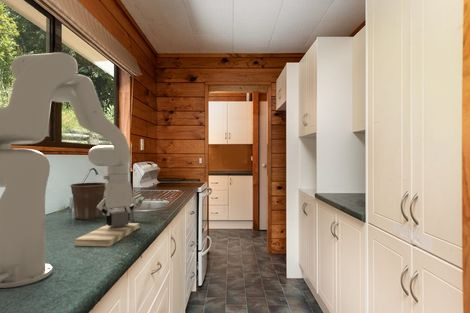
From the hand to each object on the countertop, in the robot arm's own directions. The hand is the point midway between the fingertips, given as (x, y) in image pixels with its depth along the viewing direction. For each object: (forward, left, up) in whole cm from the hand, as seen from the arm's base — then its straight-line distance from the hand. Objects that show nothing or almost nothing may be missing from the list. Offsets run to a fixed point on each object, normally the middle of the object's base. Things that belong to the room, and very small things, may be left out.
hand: (117, 223), depth 114 cm
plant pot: (+25, +27, -3) cm, 37 cm away
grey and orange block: (0, 0, 0) cm, 0 cm away
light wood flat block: (-6, 0, -3) cm, 7 cm away
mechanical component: (+19, +3, -3) cm, 20 cm away
